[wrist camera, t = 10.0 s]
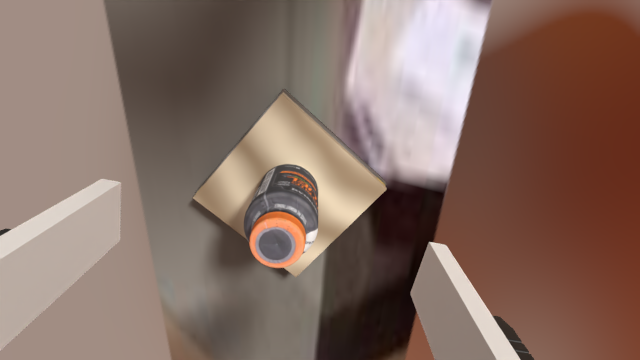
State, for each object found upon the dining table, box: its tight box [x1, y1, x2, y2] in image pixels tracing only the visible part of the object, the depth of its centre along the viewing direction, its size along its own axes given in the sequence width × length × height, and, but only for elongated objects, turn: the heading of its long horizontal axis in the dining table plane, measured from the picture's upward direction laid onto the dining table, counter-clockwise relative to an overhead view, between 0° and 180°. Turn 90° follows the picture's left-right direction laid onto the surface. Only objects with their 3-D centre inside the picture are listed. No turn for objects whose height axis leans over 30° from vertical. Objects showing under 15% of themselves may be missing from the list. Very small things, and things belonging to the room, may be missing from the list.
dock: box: [193, 89, 386, 277], centre depth 37 cm, size 14×14×3 cm
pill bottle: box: [244, 164, 318, 268], centre depth 30 cm, size 6×6×11 cm
